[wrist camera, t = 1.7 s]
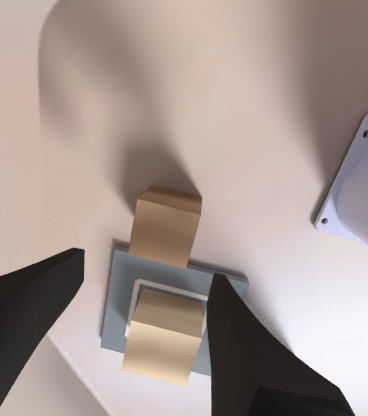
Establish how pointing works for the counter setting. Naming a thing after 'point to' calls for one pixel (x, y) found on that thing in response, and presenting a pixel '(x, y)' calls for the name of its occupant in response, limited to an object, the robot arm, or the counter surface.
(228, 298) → the robot arm
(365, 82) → the counter surface
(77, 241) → the counter surface
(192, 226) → the walnut block
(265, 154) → the counter surface
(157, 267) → the board
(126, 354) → the maple block
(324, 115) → the counter surface
